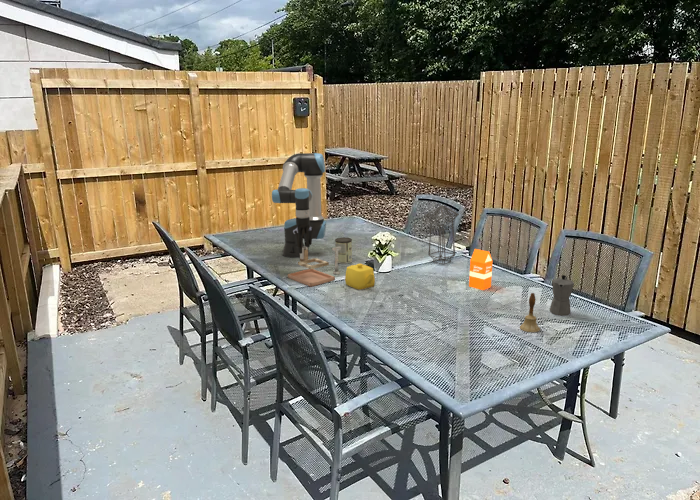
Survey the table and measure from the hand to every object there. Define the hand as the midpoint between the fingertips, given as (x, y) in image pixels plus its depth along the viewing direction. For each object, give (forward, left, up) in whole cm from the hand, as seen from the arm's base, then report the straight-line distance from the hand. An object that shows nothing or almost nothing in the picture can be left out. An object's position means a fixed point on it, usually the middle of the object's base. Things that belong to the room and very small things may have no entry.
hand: (304, 258), depth 298 cm
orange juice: (+77, +58, -11) cm, 97 cm away
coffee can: (-8, +36, -11) cm, 39 cm away
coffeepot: (+123, +56, -11) cm, 135 cm away
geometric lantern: (+33, +79, -11) cm, 86 cm away
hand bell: (+124, +28, -11) cm, 127 cm away
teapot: (+33, +13, -11) cm, 37 cm away
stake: (+8, +17, -11) cm, 22 cm away
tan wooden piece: (+6, 0, -2) cm, 6 cm away
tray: (+6, 0, -11) cm, 12 cm away
